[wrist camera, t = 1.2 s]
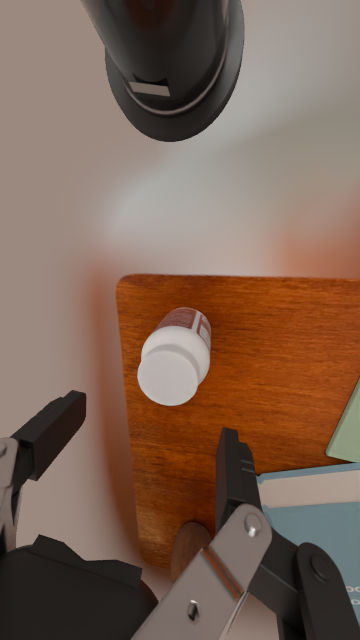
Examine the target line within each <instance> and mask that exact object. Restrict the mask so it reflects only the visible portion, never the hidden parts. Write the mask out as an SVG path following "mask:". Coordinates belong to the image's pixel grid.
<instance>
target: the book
mask: <svg viewBox="0 0 360 640" xmlns="http://www.w3.org/2000/svg"><path fill="white" fill-rule="evenodd" d="M256 478H257V484H258V489H259V495H260V500H261V506H262V510H263V513H264V515H265V516H266V517H267V519H268V521H269V523H270V525H271V526H272V527H273V528H274V530H276V531H277V532H278V533H279V534H280V535H282V536H283V537H285V538H286V539H288V540H289V541H291V542H292V543H294V544H295V545H297V546H298V547H299V545H300V544H301V543H304V542H310V543H313V544H315V545H317V546H319V547H320V548H321V549H323V550H324V551H325V552H326V553H327V554H328V555H329V556H330V557H331V558H332V560H333V561H334V562H335V564H336V566H337V567H338V569H339V571H340V573H341V575H342V578H343V581H344V584H345V586H346V589H347V592H348V595H349V598H350V600H351V603H352V606H353V609H354V612H355V615H356V617H357V620H358V623H359V626H360V462H358V463H350V464H341V465H333V466H324V467H315V468H307V469H298V470H290V471H281V472H273V473H264V474H261V475H260V476H259V477H258V476H257V475H256Z"/></svg>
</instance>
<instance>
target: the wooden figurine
mask: <svg viewBox="0 0 360 640" xmlns="http://www.w3.org/2000/svg"><path fill="white" fill-rule="evenodd" d="M211 542H212V540H211V537H210V534H209V533H208V531H207V530H206V528H205V527H203V526H202V525H201V524H199V523H196V522H187V523H185V524H184V525H183V526H182V528H181V529H180V531H179V532H178V535H177V537H176V540H175V544H174V548H173V553H172V559H171V579H172V583H173V584H174V583H175V581H176V580H177V579H178V578H179V576H180V575H181V574H182V572H183V571H184V570H185V569H186V567H187V566H188V565H189V563H190V562H191V561H192V560H193V558H194V557H195V556H196V554H197V553H198V552H199V551H200V550H201V549H202V548H203V547H208V546H209V544H210V543H211Z"/></svg>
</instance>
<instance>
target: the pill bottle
mask: <svg viewBox="0 0 360 640" xmlns="http://www.w3.org/2000/svg"><path fill="white" fill-rule="evenodd" d="M210 346H211V327H210V324H209V322H208V320H207V318H206V317H205V316H204V315H203V314H202V313H201V312H199V311H198V310H195V309H192V308H186V307H182V308H177V309H175V310H172V311H171V312H169V313H168V314H167V315H166V316H165V317H164V319H163V320H162V321H161V322H160V324H159V325H158V326H157V327H156V329H155V330H154V331H153V332H152V333H151V335H150V336H149V337H148V338H147V340H146V342H145V344H144V346H143V349H142V354H141V363H140V365H139V368H138V374H137V377H138V383H139V385H140V387H141V389H142V391H143V392H144V393H145V395H146V396H147V397H149V398H150V399H151V400H153V401H155V402H156V403H159V404H162V405H168V406H175V405H180V404H183V403H185V402H187V401H188V400H189V399H191V398H192V397H193V395H194V394H195V392H196V390H197V387H198V385H199V384H200V383H201V382H202V381H203V380H204V378H205V377H206V375H207V373H208V370H209V365H210Z"/></svg>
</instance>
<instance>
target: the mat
mask: <svg viewBox="0 0 360 640" xmlns="http://www.w3.org/2000/svg"><path fill="white" fill-rule="evenodd" d="M325 453H326V454H327V456H331V457H335V458H339V459H343V460H347V461H351V462H355V463H358V462H360V378H359V380H358V383H357V385H356V387H355V389H354V391H353V393H352V395H351V398H350V400H349V402H348V404H347V406H346V408H345V410H344V413H343V415H342V417H341V419H340V421H339V423H338V425H337V428H336V430H335V432H334V434H333V436H332V438H331V440H330V443H329V445H328V447H327V449H326V451H325Z"/></svg>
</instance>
